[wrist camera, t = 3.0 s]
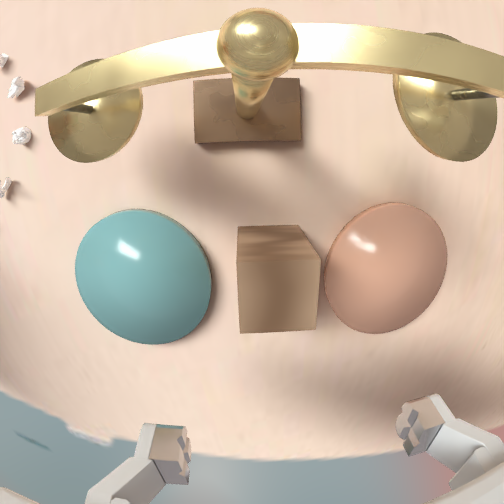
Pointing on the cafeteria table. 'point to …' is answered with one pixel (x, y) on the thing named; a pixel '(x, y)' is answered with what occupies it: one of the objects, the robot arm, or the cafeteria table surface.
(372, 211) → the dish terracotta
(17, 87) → the game piece set
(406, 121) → the balance
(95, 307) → the teal dome
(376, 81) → the cafeteria table surface
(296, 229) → the block
